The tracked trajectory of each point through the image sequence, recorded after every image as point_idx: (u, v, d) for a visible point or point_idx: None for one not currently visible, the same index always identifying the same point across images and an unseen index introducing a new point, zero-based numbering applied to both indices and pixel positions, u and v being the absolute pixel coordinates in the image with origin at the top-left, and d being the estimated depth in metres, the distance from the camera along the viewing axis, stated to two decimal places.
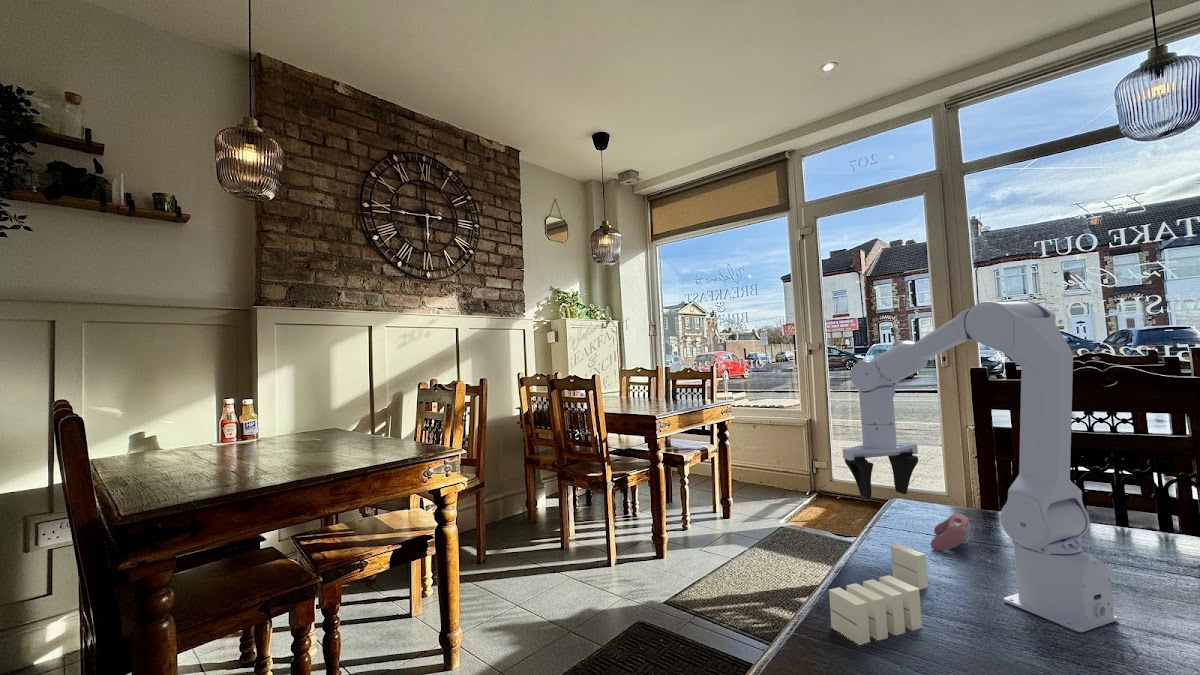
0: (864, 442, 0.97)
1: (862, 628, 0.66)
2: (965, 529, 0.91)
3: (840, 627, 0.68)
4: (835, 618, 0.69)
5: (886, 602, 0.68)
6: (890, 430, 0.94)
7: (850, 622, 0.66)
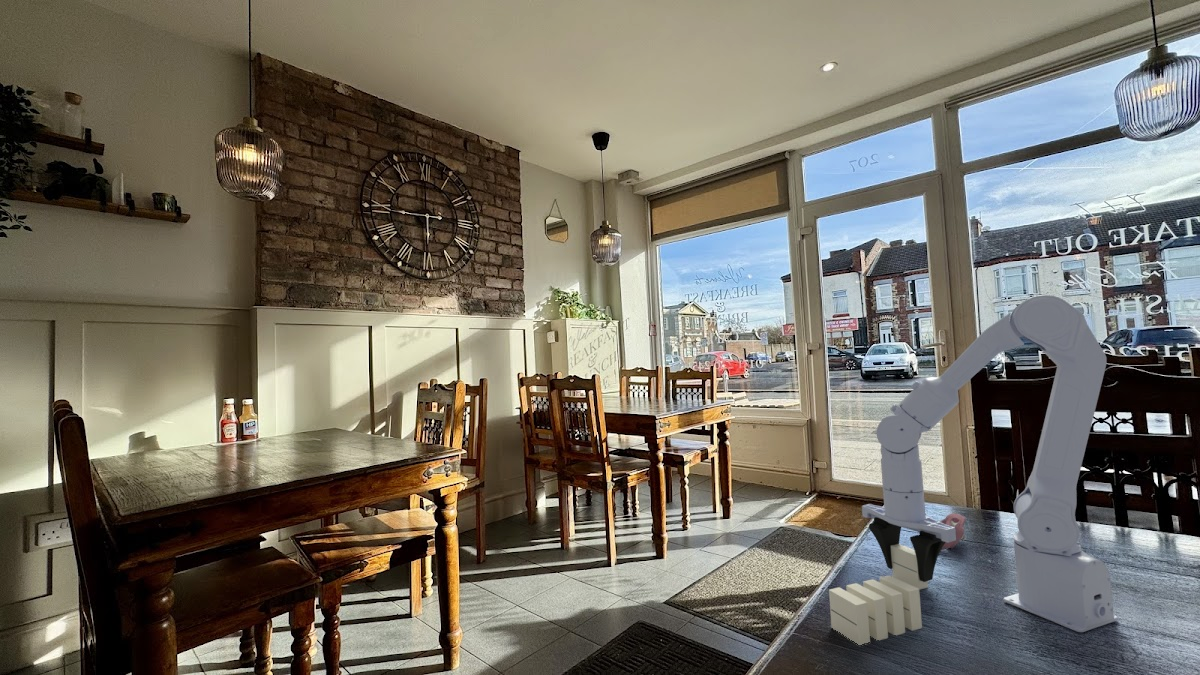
0: None
1: (862, 628, 0.66)
2: (962, 529, 0.92)
3: (840, 627, 0.68)
4: (835, 618, 0.69)
5: (886, 602, 0.68)
6: (893, 498, 0.81)
7: (850, 622, 0.66)
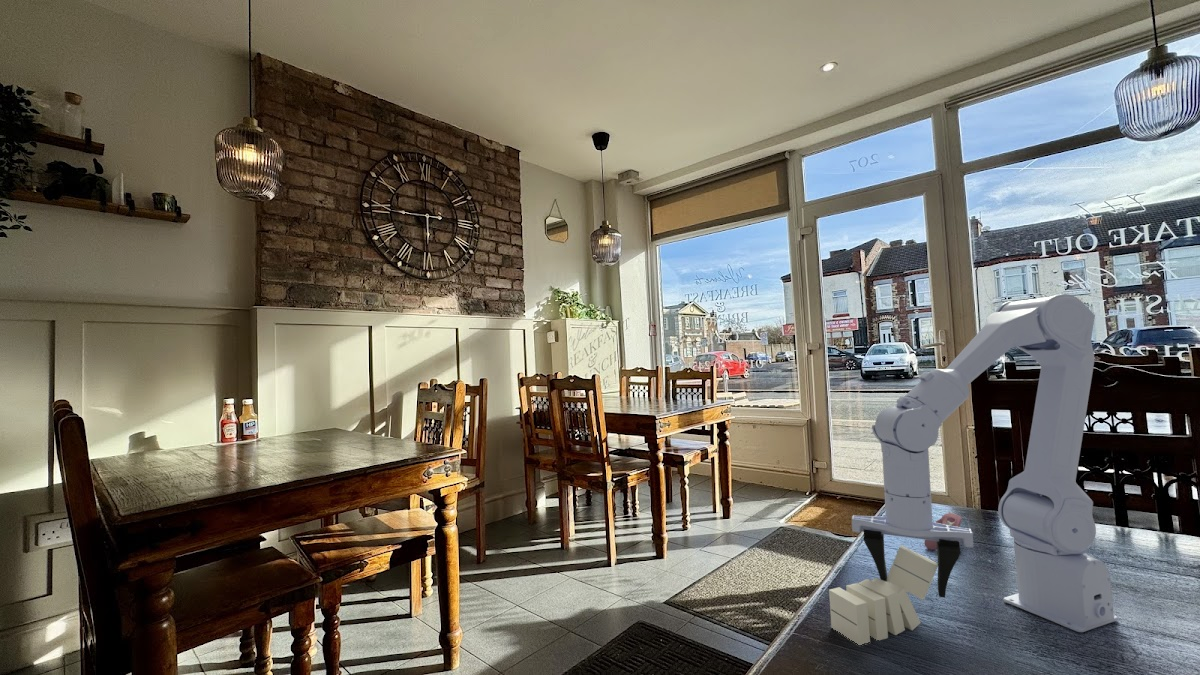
0: None
1: (862, 628, 0.66)
2: None
3: (840, 627, 0.68)
4: (835, 618, 0.69)
5: None
6: (910, 505, 0.70)
7: (850, 622, 0.66)
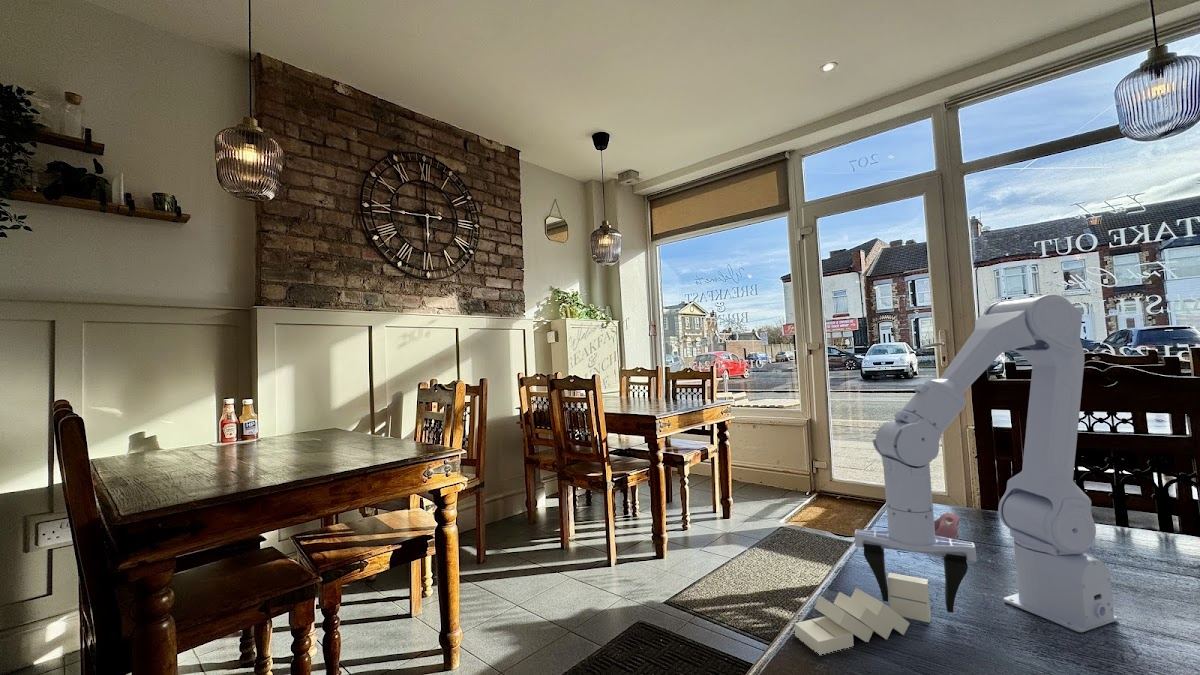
0: None
1: (839, 645, 0.65)
2: (956, 528, 0.92)
3: None
4: None
5: (860, 621, 0.66)
6: (912, 520, 0.69)
7: None
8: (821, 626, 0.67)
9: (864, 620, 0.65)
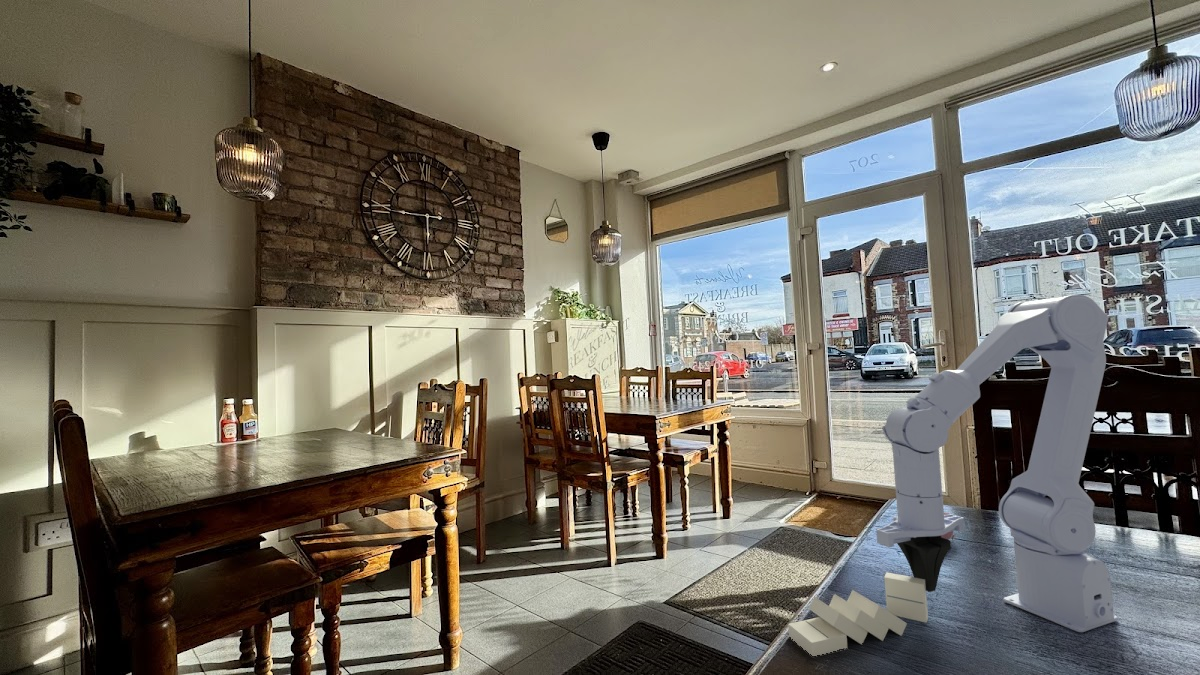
0: (902, 519, 0.72)
1: (833, 646, 0.64)
2: None
3: None
4: None
5: None
6: (939, 504, 0.70)
7: None
8: (815, 627, 0.67)
9: (859, 623, 0.65)
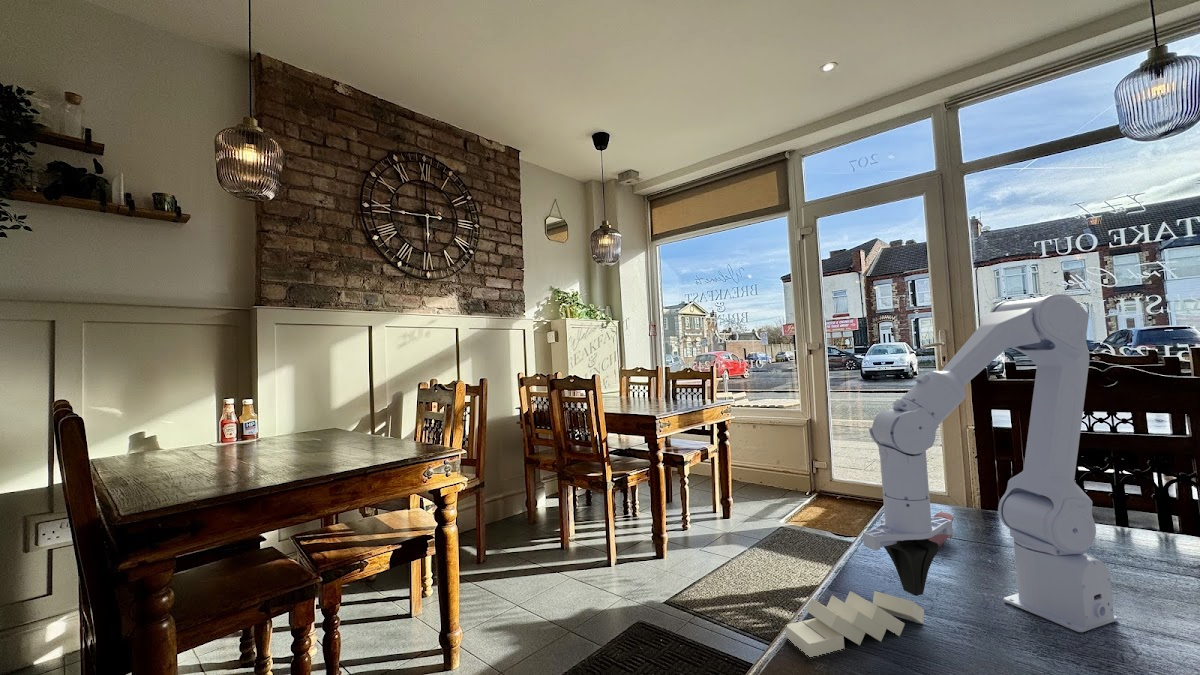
0: (889, 521, 0.72)
1: (830, 647, 0.64)
2: None
3: None
4: None
5: None
6: (925, 507, 0.69)
7: None
8: (812, 628, 0.67)
9: (857, 624, 0.65)
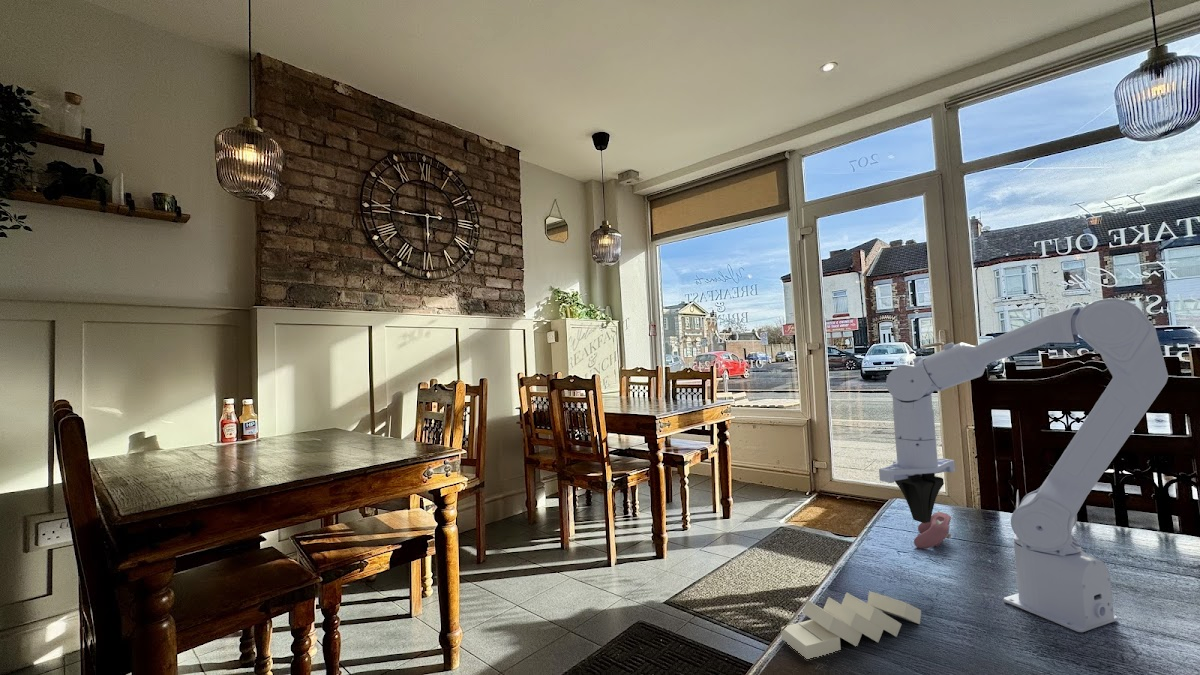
0: (901, 460, 0.83)
1: (826, 649, 0.64)
2: (947, 527, 0.93)
3: None
4: None
5: None
6: (932, 446, 0.81)
7: None
8: (808, 630, 0.66)
9: (854, 626, 0.65)
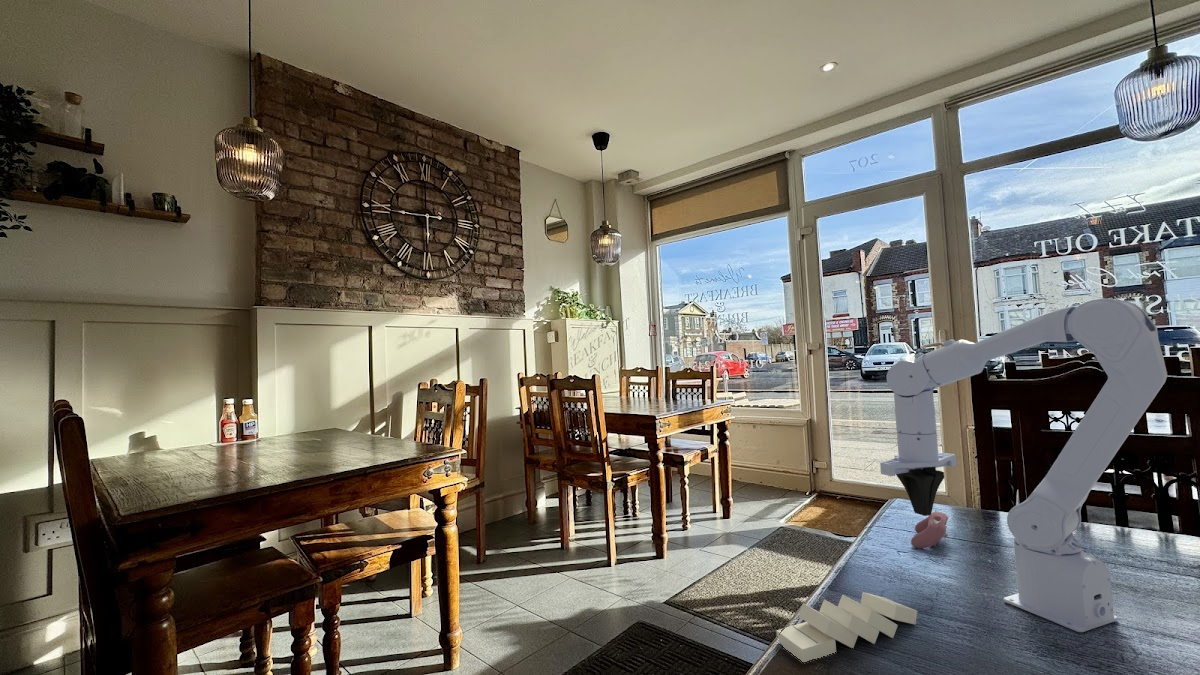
0: (902, 454, 0.85)
1: (822, 652, 0.63)
2: (944, 527, 0.93)
3: None
4: None
5: None
6: (933, 440, 0.82)
7: None
8: (804, 632, 0.66)
9: (852, 628, 0.64)
